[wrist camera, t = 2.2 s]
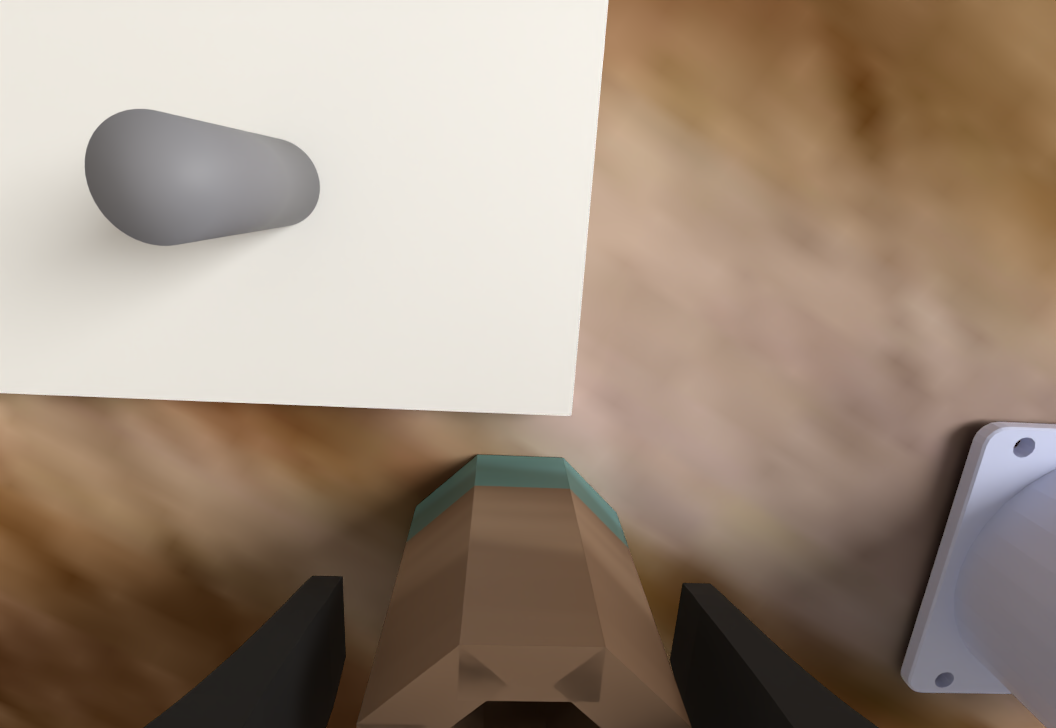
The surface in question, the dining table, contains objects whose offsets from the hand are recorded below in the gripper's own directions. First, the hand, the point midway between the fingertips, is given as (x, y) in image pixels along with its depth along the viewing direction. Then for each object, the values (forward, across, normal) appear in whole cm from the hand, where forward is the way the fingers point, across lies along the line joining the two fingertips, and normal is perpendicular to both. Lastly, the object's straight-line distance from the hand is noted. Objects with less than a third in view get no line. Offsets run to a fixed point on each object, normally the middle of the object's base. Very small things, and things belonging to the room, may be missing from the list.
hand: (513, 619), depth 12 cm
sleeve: (+3, 0, 0) cm, 3 cm away
